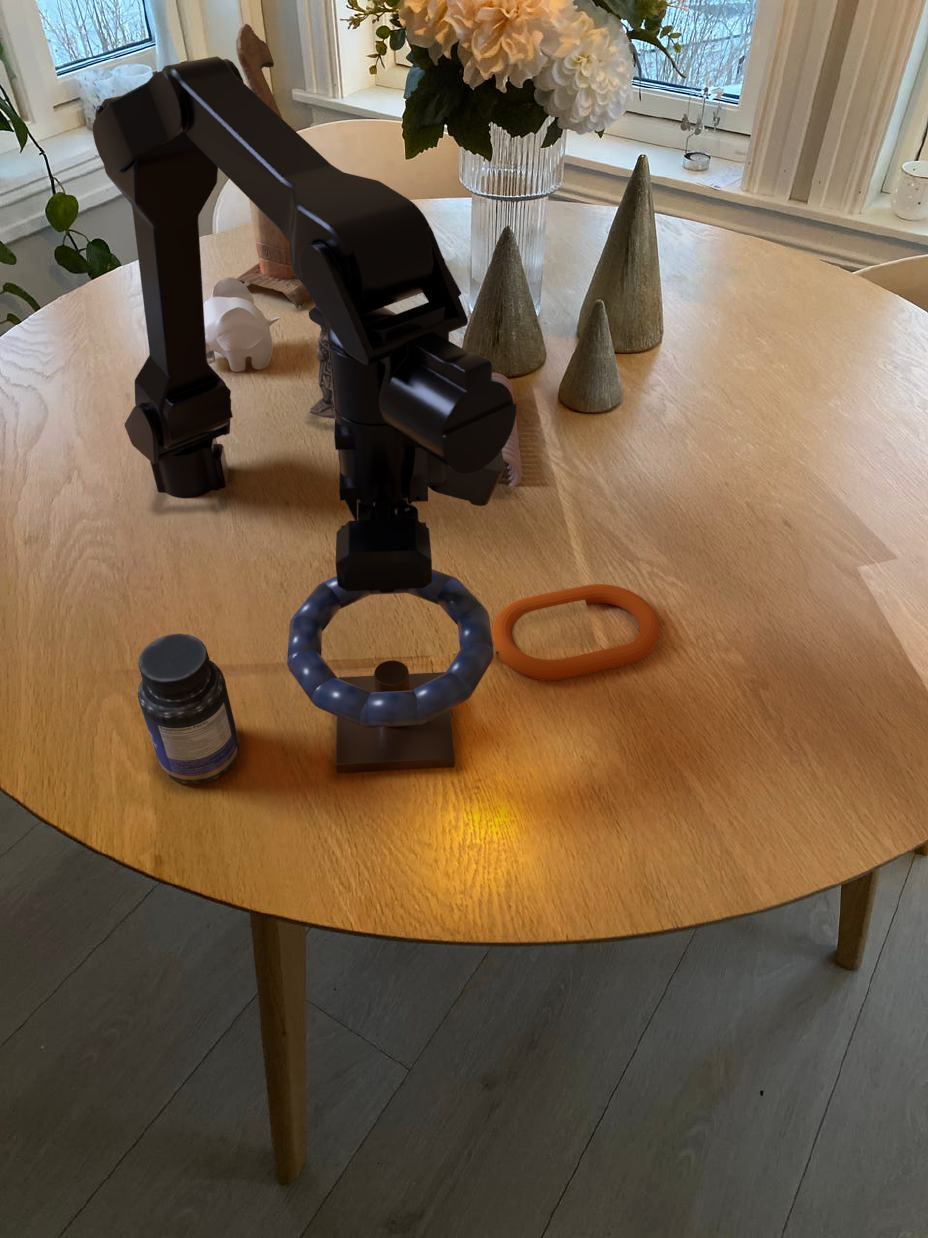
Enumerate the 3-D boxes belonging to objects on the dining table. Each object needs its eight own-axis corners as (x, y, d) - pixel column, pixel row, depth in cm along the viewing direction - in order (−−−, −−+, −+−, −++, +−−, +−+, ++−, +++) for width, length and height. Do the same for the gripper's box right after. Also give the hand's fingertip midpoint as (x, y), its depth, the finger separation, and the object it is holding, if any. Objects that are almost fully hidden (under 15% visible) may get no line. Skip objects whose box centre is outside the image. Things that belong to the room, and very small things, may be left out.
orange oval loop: (476, 603, 84) (632, 571, 88) (476, 617, 86) (629, 585, 89) (513, 681, 78) (680, 643, 81) (512, 695, 79) (677, 657, 82)
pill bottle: (166, 727, 76) (135, 627, 68) (244, 723, 76) (221, 623, 69) (154, 790, 72) (119, 691, 64) (237, 785, 72) (212, 686, 64)
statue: (308, 422, 109) (287, 247, 95) (337, 392, 113) (322, 222, 100) (362, 435, 107) (349, 259, 93) (389, 404, 112) (381, 232, 98)
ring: (285, 738, 65) (281, 718, 64) (294, 581, 75) (290, 560, 73) (500, 727, 66) (502, 707, 65) (481, 574, 76) (483, 552, 74)
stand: (336, 774, 73) (329, 721, 69) (338, 686, 79) (332, 633, 75) (454, 767, 73) (455, 714, 69) (447, 681, 80) (447, 628, 76)
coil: (526, 460, 96) (515, 370, 109) (479, 456, 95) (474, 366, 108) (518, 498, 99) (509, 406, 112) (474, 494, 99) (469, 402, 112)
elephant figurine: (184, 349, 121) (169, 281, 114) (279, 337, 123) (270, 270, 117) (191, 387, 114) (176, 316, 108) (291, 373, 117) (282, 303, 110)
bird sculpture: (342, 277, 136) (322, 17, 114) (299, 311, 129) (269, 39, 107) (275, 263, 140) (243, 7, 118) (229, 295, 132) (185, 27, 110)
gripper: (514, 480, 57) (503, 662, 68) (485, 332, 71) (480, 503, 81) (326, 487, 56) (345, 669, 67) (333, 336, 70) (348, 508, 81)
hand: (387, 579), depth 74 cm, fingers closed on ring, 2 cm apart
